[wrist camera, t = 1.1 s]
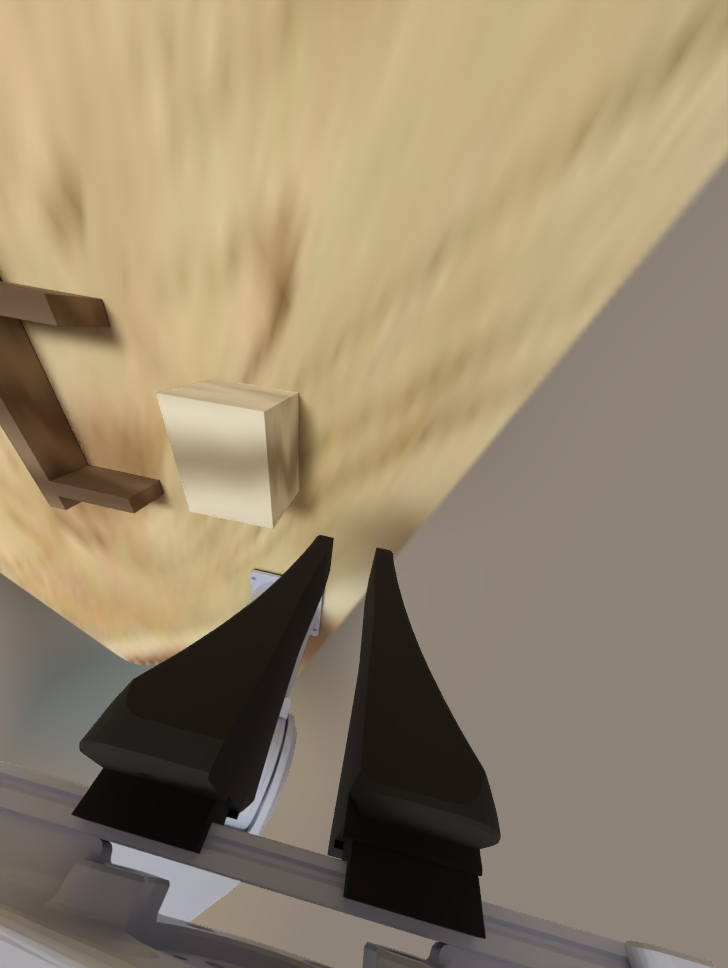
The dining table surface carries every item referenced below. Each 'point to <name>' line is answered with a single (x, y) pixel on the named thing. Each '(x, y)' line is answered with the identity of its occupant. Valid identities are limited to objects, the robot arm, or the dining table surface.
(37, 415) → the walnut stop
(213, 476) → the maple block
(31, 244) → the dining table surface
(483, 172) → the dining table surface
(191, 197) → the dining table surface
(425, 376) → the dining table surface
